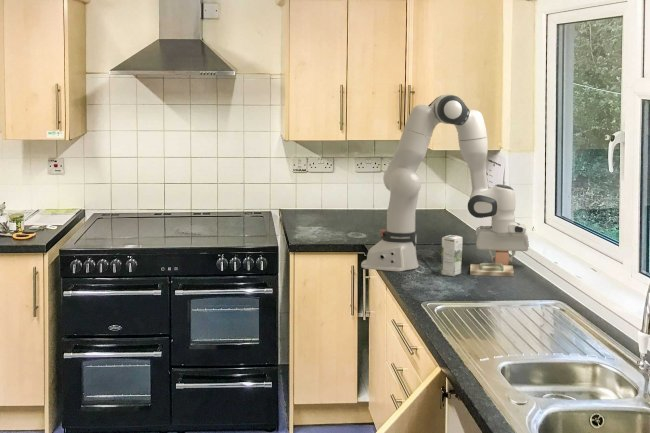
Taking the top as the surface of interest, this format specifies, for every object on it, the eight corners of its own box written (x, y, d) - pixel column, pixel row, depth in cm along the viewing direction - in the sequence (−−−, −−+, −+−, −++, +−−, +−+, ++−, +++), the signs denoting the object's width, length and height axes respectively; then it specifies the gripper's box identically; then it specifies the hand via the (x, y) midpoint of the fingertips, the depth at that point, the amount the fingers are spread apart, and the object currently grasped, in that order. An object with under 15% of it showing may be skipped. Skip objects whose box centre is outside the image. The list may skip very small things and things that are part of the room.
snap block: (495, 267, 341) (495, 252, 340) (495, 265, 346) (495, 250, 345) (508, 268, 341) (508, 253, 340) (508, 265, 345) (508, 250, 344)
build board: (470, 274, 330) (470, 268, 329) (470, 267, 342) (470, 261, 341) (513, 276, 327) (513, 270, 327) (512, 269, 339) (512, 263, 338)
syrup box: (448, 271, 335) (449, 234, 333) (461, 274, 331) (462, 236, 329) (440, 274, 331) (441, 236, 328) (454, 276, 327) (454, 238, 325)
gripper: (475, 227, 339) (474, 262, 342) (530, 228, 336) (528, 264, 338) (475, 224, 346) (474, 258, 348) (529, 225, 342) (527, 260, 344)
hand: (501, 261), depth 343 cm, fingers closed on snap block, 5 cm apart
